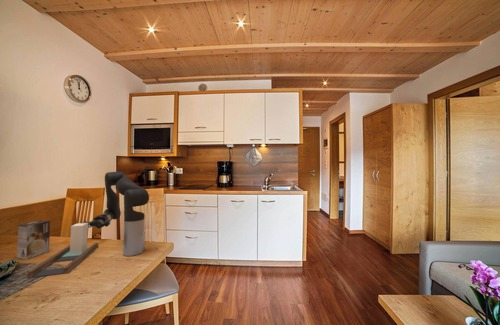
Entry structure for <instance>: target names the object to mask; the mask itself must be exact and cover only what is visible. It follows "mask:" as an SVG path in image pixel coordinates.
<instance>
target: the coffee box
mask: <svg viewBox="0 0 500 325" xmlns="http://www.w3.org/2000/svg"><path fill="white" fill-rule="evenodd" d="M50 223H51V221H50V220H45V219H44V220H43V219H42V220H41V219H40V220H36V221H31V222H26V223H21V224H17V249H16V250H17V252H16V258H17V259H23V260H28V259H31V258H35V257H36V256H40V255H43V254H45V253H48V252H50V233H51V232H50V230H51V224H50Z"/></svg>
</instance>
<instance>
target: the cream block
mask: <svg viewBox="0 0 500 325" xmlns="http://www.w3.org/2000/svg"><path fill="white" fill-rule="evenodd" d="M88 231H89V228H88V223H83V222H79V223H75V224H73V225H71V226H70V238H69V240H70V243H69V245H70V254H78V253H83V252H84V251H85V250H86V249H87V248H88V233H89V232H88Z"/></svg>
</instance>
